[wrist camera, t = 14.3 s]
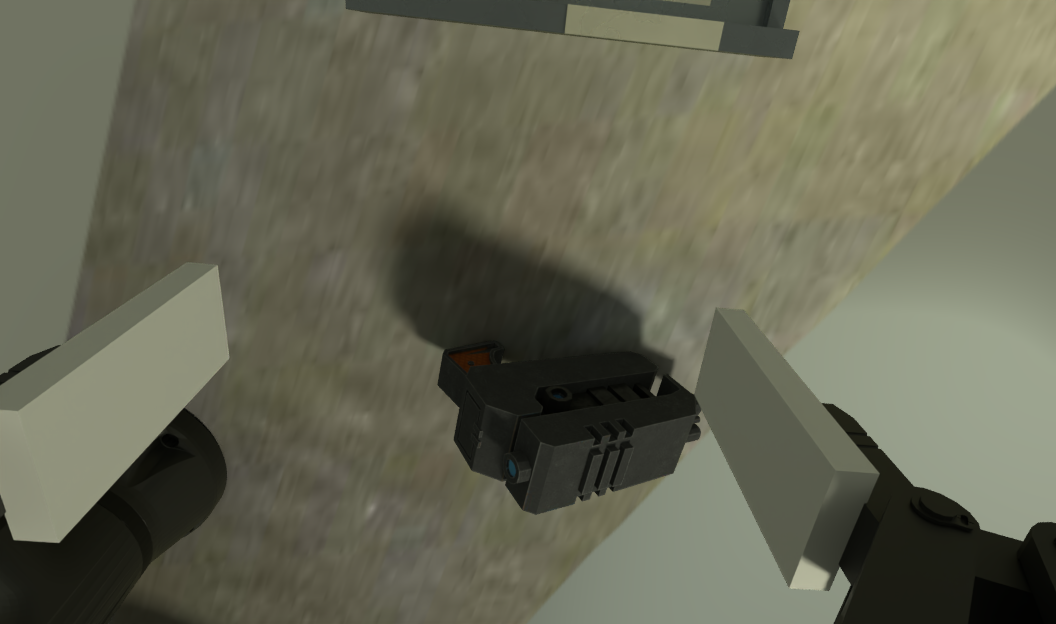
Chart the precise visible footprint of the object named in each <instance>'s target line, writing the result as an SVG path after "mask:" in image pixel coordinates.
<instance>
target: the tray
mask: <svg viewBox="0 0 1056 624" xmlns="http://www.w3.org/2000/svg"><path fill="white" fill-rule="evenodd" d="M789 3H790V0H346V9H349V10H355V11H360V12H366V13H374V14H383V15H392V16H401V17H410V18H419V19H428V20H437V21H446V22H454V23H463V24H472V25H481V26H490V27H499V28H508V29H517V30H526V31H535V32H544V33H553V34H561V35H570V36H579V37H588V38H597V39H606V40H615V41H624V42H633V43H642V44H651V45H660V46H668V47H677V48H686V49H695V50H704V51H713V52H722V53H731V54H740V55H749V56H758V57H770V58H785V59H792V57H793V53H794V50H795V46H796V42H797V38H798V35H799V31H796V30H787V29H783V27H784V23H785V19H786V15H787V11H788V7H789Z"/></svg>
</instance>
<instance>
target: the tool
mask: <svg viewBox="0 0 1056 624" xmlns="http://www.w3.org/2000/svg"><path fill="white" fill-rule="evenodd" d="M503 352H504V348H503V347H502V346H501V345H500V344H499V343H498V342H497V341H488V342H483V343H478V344H473V345H467V346H462V347H457V348H451V349H446V350H444V352H443V356H442V362H441V367H440V373H439V379H438V386H439V387H440V388H441V389H442V390H443V391H444V392H445V393H446V394H447V395H448V396H449V397H450V399H451V400H452V401H453V402H454V403H455V404H456V405H457V406H458V407H459V408H460V409H459V414H458V419H457V424H456V430H455V435H454V441H455V443H456V445H457V447H458V448H459V450H460V452H461V453H462V455H463V457H464V458H465V460H466V462H467V463H468V465H469V467H470V469H471V470H472V471H474V472H477V473H480V474H483V475H485V476H488V477H491V478H494V479H497V480H499V481H502V482H503V481H506V484H505V486H506V487H507V489H508V490H509V491H510V493H511V494H512V496H513V497H514V499H515V500H516V502H517V503H518V504H519V506H520V507H521V509H522V510H523V511H526V512H529V513H532V514H535V515H537V514H540V513H544V512H547V511H551V510H555V509H558V508H562V507H565V506H569V505H572V504H575V501H576V497H579V498H580V499H581V501H586V500H589V499H590V497H591V494H592V492H595V493H596V494H597V495H598V497H599V496H602V495H605V493H606V490H607V488H608V487H609V488H610V489H611V490H612V491H613V492H615V491H618V490H621V489H624V488H628V487H631V486H634V485H637V484H641V483H644V482H647V481H650V480H653V479H657V478H660V477H663V476H666V475H670V474H673V473H674V470H675V468H676V465H677V463H678V460H679V458H680V455H681V452H682V450H683V447H684V445H685V443H686V442H691V441H695V440H698V439H699V438H700V435H701V431H700V428H699V427H698V426H697V425H696V424H694V423H698V422H700V417H699V416H698V414H699V413H700V412H701V407H700V405H699V403H698V401H697V399H696V397H695V395H694V394H692V393H690V392H689V391H688V390H686V389H685V388H684V387H683V386H681V385H680V384H679V383H678V382H676V381H675V380H674V379H673V378H671V377H670V376H669V375H668V374H666V375H664V376H663V379H662V382H661V384H660V387H659V390H658V393H657V396H654V395H653V394H652V393H651V392H650V390H651V387H652V384H653V382H654V379H655V376H656V373H657V370H658V366H656V365H655V364H654V363H652V362H651V361H650V360H648V359H647V358H645V357H644V356H643V355H640V354H636V353H633V352H621V353H610V354H599V355H588V356H577V357H566V358H555V359H545V360H534V361H523V362H512V363H501V361H502V356H503Z"/></svg>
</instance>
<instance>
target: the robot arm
mask: <svg viewBox="0 0 1056 624" xmlns="http://www.w3.org/2000/svg"><path fill="white" fill-rule="evenodd" d="M228 359H229V350H228V343H227V335H226V327H225V319H224V311H223V304H222V296H221V288H220V280H219V272H218V265H213V264H202V263H190V262H187V263H185V264H184V265H182V266H181V267H179V268H178V269H176V270H175V271H173V272H172V273H170V274H169V275H167V276H166V277H164V278H162V279H161V280H159V281H158V282H156V283H155V284H153V285H152V286H150V287H149V288H147V289H146V290H144V291H143V292H141V293H140V294H138V295H137V296H135V297H134V298H132V299H131V300H129V301H128V302H126V303H125V304H123V305H122V306H120V307H118V308H117V309H115V310H114V311H112V312H111V313H109V314H108V315H106V316H105V317H103V318H102V319H100V320H99V321H97V322H96V323H94V324H93V325H91V326H90V327H88V328H87V329H85V330H84V331H82V332H81V333H79V334H78V335H76V336H74V337H73V338H71V339H70V340H68V341H67V342H65V343H64V344H62V345H58V346H55V347H53V348H50V349H47V350H45V351H42V352H40V353H37V354H34V355H32V356H30V357H28V358H26V359H25V360H23V361H22V362H20V363H19V364H17V365H15V366H14V367H12V368H11V369H9V371H8V373H3V374H1V375H0V624H108V622H109V621H110V619H111V618H112V616H113V615H114V614H115V612H116V611H117V609H118V608H119V607H120V605H121V604H122V602H123V601H124V599H125V598H126V597H127V595H128V594H129V592H130V591H131V589H132V588H133V587H134V585H135V584H136V582H137V581H138V580H139V578H140V577H141V575H142V574H143V573H144V571H145V570H146V568H147V567H148V566H149V564H150V563H151V562H152V561H153V560H155V559H156V558H157V557H159V556H160V555H161V554H162V553H164V552H165V551H166V550H167V549H169V548H170V547H171V546H172V545H174V544H175V543H176V542H177V541H179V540H180V539H181V538H183V537H185V536H187V535H188V534H190V533H191V532H193V531H194V530H195V529H197V528H198V527H199V526H200V525H201V524H202V523H203V522H204V521H205V520H206V519H207V518H208V516H209V515H210V514H211V512H212V511H213V509H214V508H215V506H216V505H217V503H218V502H219V500H220V498H221V497H222V495H223V492H224V490H225V486H226V480H227V470H226V464H225V460H224V457H223V454H222V452H221V450H220V448H219V446H218V444H217V442H216V441H215V439H214V438H213V437H212V435H211V434H210V433H209V432H208V430H207V429H206V428H205V427H204V426H203V425H202V424H201V423H200V422H199V421H198V420H196V419H195V418H194V417H193V416H191V415H190V414H189V413H187V412H186V411H184V410H183V408H184V407H185V406H186V405H187V404H188V403H189V402H190V400H191V399H192V398H193V397H194V396H195V395H196V394H197V393H198V392H199V391H200V390H201V389H202V387H203V386H204V385H205V384H206V383H207V382H208V381H209V380H210V379H211V378H212V377H213V376H214V374H215V373H216V372H217V371H218V370H219V369H220V368H221V367H222V366H223V365H224V364H225V363H226V361H227V360H228ZM694 395H695V397H696V399H697V401H698V403H699V405H700V407H701V409H702V411H703V413H704V416H705V418H706V420H707V422H708V424H709V426H710V428H711V430H712V432H713V434H714V436H715V438H716V440H717V442H718V444H719V446H720V448H721V450H722V452H723V454H724V456H725V458H726V460H727V462H728V464H729V466H730V469H731V470H732V472H733V474H734V477H735V478H736V481H737V483H738V485H739V487H740V489H741V491H742V493H743V495H744V497H745V499H746V501H747V503H748V505H749V507H750V509H751V511H752V513H753V515H754V517H755V519H756V522H757V523H758V526H759V528H760V530H761V532H762V534H763V536H764V538H765V540H766V542H767V544H768V546H769V548H770V550H771V552H772V554H773V556H774V558H775V560H776V562H777V564H778V566H779V568H780V571H781V573H782V575H783V577H784V579H785V581H786V583H787V585H788V587H789V588H793V589H808V590H825V591H829V590H830V587H831V585H832V583H833V581H834V578H835V576H836V574H837V571H838V569H839V567H841V569H842V571H843V572H844V574H845V576H846V577H847V579H848V581H849V582H850V584H851V586H850V589H849V591H848V593H847V595H846V597H845V599H844V602H843V604H842V606H841V608H840V611H839V613H838V615H837V617H836V620H835V622H834V624H1056V523H1053V522H1042V523H1041V522H1040V523H1037V524H1036V525H1034V526H1033V527H1031V529H1030V531H1029V533H1028V534H1027V536H1026V538H1025V539H1024V541H1019V540H1016V539H1013V538H1009V537H1005V536H1001V535H998V534H995V533H991V532H987V531H984V530H981V529H980V526H979V523H978V522H977V521H976V520H975V518H974V517H973V516H972V515H971V513H970V512H968V511H967V510H966V509H964V508H963V507H962V506H960V505H959V504H958V503H957V502H955V501H953V500H951V499H949V498H947V497H945V496H944V495H942V494H940V493H937V492H934V491H931V490H928V489H925V488H920V487H914V486H913V485H912V484H911V482H910V481H909V480H908V479H907V478H906V477H905V476H904V475H903V474H902V472H901V471H900V470H899V469H898V468H897V467H896V466H895V464H894V463H893V462H892V461H891V460H890V459H889V458H888V457H887V455H886V454H885V453H884V452H883V451H882V450H881V449H878V445H877V444H876V443H875V442H874V441H873V440H872V438H871V437H870V436H867V433H866V432H865V430H864V429H863V428H862V427H861V426H860V425H859V424H858V422H857V421H856V420H855V419H854V418H853V417H851V416H850V415H848V414H847V413H845V412H844V411H842V410H841V409H839V408H838V407H836V406H835V405H834V404H825V403H821V402H820V401H819V400H818V399H817V398H816V396H815V395H814V394H813V393H812V392H811V390H810V389H809V388H808V387H807V386H806V384H805V383H804V382H803V381H802V380H801V378H800V377H799V376H798V375H797V373H796V372H795V371H794V370H793V369H792V368H791V366H790V365H789V364H788V363H787V362H786V360H785V359H784V358H783V357H782V355H781V354H780V353H779V352H778V351H777V349H776V348H775V347H774V346H773V344H772V343H771V342H770V341H769V340H768V338H767V337H766V336H765V335H764V334H763V332H762V331H761V330H760V329H759V328H758V326H757V325H756V324H755V323H754V322H753V320H752V319H751V318H750V317H749V316H748V314H747V313H746V312H745V311H744V310H738V309H726V308H716V310H715V314H714V318H713V322H712V326H711V330H710V334H709V338H708V342H707V346H706V350H705V354H704V358H703V362H702V366H701V370H700V374H699V378H698V382H697V386H696V390H695V394H694Z"/></svg>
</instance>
